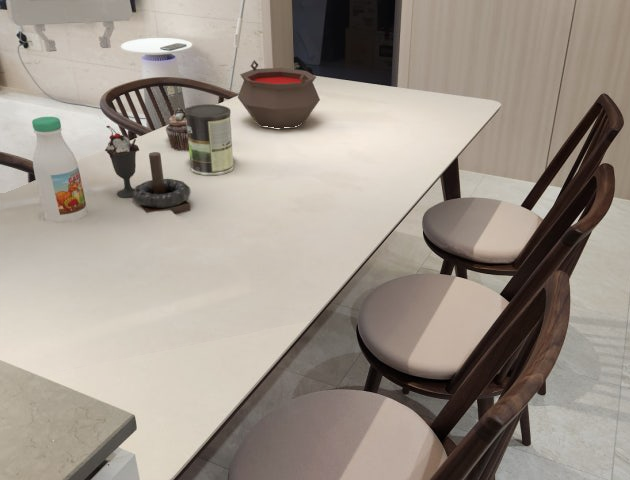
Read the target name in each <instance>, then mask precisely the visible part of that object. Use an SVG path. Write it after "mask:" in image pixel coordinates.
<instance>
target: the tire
mask: <svg viewBox="0 0 630 480" xmlns="http://www.w3.org/2000/svg"><path fill="white" fill-rule="evenodd" d="M164 186H165V192H171V193H166V194H154V188H153V181H152V179H151V180H147V181H144V182H142V183H140V184H138V185H136V186H135V188H134V189H135V190H134V192H133V198H134V199H135V200H136V201H137V203H138V204H140V205H142V206H146V207H150V208H167V207H172V206H177V205H179V204H181V203H183V202H185V201H187V202H188V200H189V198H190V196H191V193H192V192H191V191H192V190H191V188H190V186H189V185H188V184H187V183H185V182H184V181H182V180H177V179H173V178H164ZM137 203H136V204H137ZM138 204H137V205H138Z"/></svg>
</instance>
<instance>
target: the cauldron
mask: <svg viewBox="0 0 630 480" xmlns="http://www.w3.org/2000/svg"><path fill="white" fill-rule="evenodd" d="M254 65H255V66H254ZM258 66H259V63H258V62H257V61H256V60H255V59H253V60H252V63H251V64H250V67H251V69H250V70H248V71H245V72H242V73H240V74H239V75H240V77H241V78H242V79H243V82H242V84H241V87H240V90H239V91H238V95H237V99H238V101H240V103H241V104H242V106H243V107H244V108H245V110H246V111H247V112H248V114H249V116H251V118H252V119H253V121H254V120H255V121H256V122H257V123H258V124H259V125H261V126H268V127H274V128H284V127H295V126H298V125H300V124H301V123H303V122H304V123H305V122H306V121H307V120H308V118H309V116H310V115H311V114H312V112H313V110H315V108H316V107H317V105H318V104H319V102H320V100H321V99H320V96H319V94H318V91H317V89H316V87H315V84H314V82H315V79H316V78H317V76H316V75H314V74H312V73H310V72H309V71H307V70H302V69H295V68H286V67H269V68H268V67H267V68H258ZM255 121H254V122H255ZM256 122H255V123H256ZM257 123H256V124H257ZM304 123H303V124H304ZM258 124H257V125H258ZM259 125H258V126H259ZM261 126H260V127H261ZM300 126H301V125H300ZM298 127H299V126H298Z"/></svg>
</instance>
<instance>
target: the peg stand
mask: <svg viewBox="0 0 630 480" xmlns="http://www.w3.org/2000/svg"><path fill="white" fill-rule="evenodd" d="M161 156H162V155H161V152H158V151H154V152H153V151H152V152H149V153H148V159H149V165H150V172H151V173H150V174H151V180H152V181H153V188H154V194H166V193H171V192H165V186H164V179H165V178H164V171H163V164H162V157H161ZM131 199H132V203H136V204H137V205H138V206H139V207H140V208H141V209H142V210H143V211H144V212H145V213H146V214H148V213H153V212H159V211H164V210H170V211H171V212H172V213H173V214H179V213H184V212H188V211H191V204H190V202H189V201H188V200H187V201H185V202H183V203H181V204H179V205H177V206H172V207H167V208H150V207H146V206H142V205H140V204H138V203H137V201H136V200H135V199H134V198H133V197H131Z"/></svg>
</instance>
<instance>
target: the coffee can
mask: <svg viewBox="0 0 630 480" xmlns="http://www.w3.org/2000/svg"><path fill="white" fill-rule="evenodd" d="M186 108H187V109H186ZM186 108H185V109H184V110H185V115H186V124H187V134H188V143H189V150H188V151H189V152H188V153H189V162H190V170H191V172H193V173H194V174H197V175H201V176H221V175H225V174H228V173H230V172H232V171H233V170H234V169H235V166H234V155H233V154H234V153H233V140H232V124H231V122H232V121H231V113H232V112H231V109H230V108H229V107H227V106H224V105H220V104H212V103H211V104H208V103H207V104H196V105H192V106H189V107H186Z"/></svg>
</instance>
